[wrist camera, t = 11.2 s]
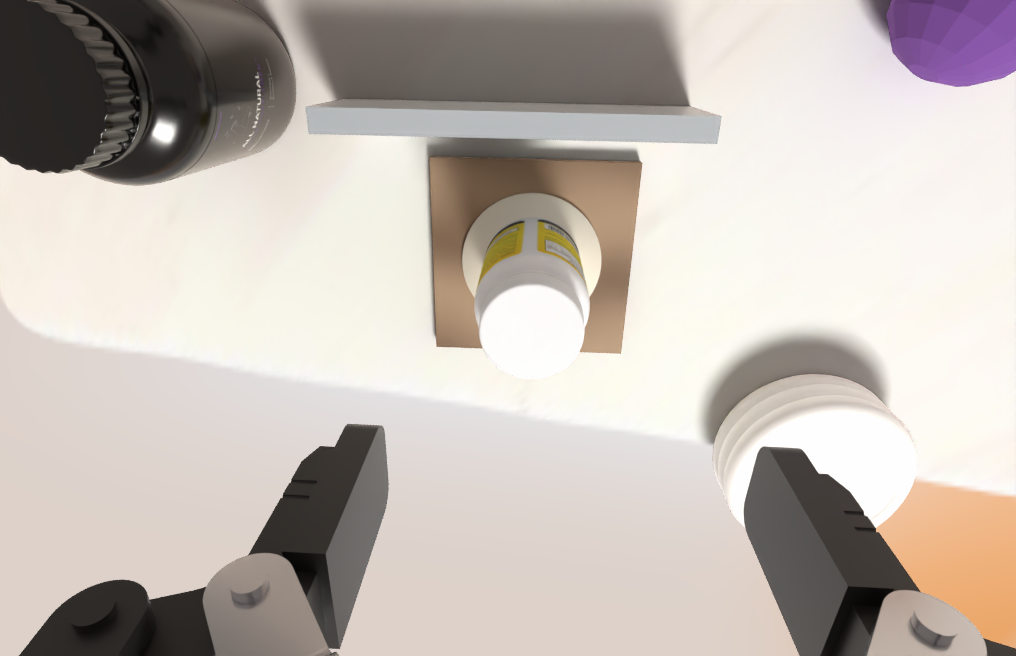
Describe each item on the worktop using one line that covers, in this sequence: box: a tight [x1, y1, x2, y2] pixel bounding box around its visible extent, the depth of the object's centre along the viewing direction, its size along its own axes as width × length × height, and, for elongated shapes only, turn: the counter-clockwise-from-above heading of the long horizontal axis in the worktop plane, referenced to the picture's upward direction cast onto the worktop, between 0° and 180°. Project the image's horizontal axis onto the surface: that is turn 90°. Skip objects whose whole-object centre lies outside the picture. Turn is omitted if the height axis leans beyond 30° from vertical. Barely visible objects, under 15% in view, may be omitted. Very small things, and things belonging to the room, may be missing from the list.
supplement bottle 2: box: [474, 218, 590, 379], centre depth 25 cm, size 5×5×8 cm
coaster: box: [713, 374, 917, 527], centre depth 33 cm, size 10×10×4 cm
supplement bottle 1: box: [0, 0, 296, 186], centre depth 22 cm, size 7×7×12 cm
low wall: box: [306, 99, 722, 144], centre depth 25 cm, size 1×16×5 cm, turn 89°
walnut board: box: [429, 156, 642, 353], centre depth 30 cm, size 10×10×1 cm
